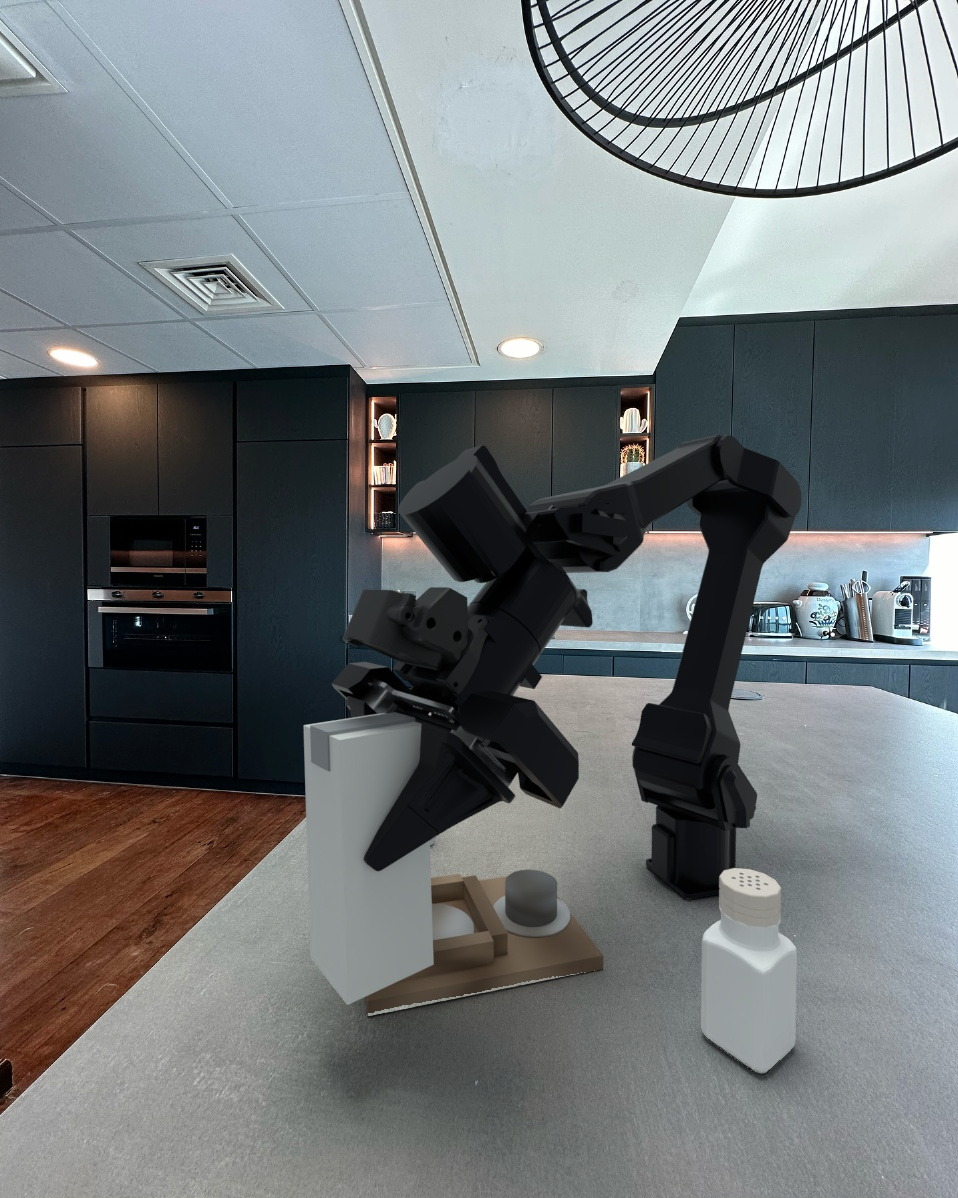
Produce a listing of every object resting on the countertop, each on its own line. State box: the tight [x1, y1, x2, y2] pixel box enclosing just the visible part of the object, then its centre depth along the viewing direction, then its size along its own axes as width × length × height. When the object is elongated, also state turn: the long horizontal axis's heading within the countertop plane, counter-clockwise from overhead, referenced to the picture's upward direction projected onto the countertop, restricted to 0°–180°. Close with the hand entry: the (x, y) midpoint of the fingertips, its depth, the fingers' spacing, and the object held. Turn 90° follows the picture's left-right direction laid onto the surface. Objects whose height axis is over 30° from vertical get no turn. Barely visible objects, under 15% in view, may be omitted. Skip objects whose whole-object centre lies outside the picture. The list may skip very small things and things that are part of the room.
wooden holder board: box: [364, 869, 604, 1014], centre depth 43 cm, size 16×12×4 cm
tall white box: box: [303, 712, 434, 1006], centre depth 32 cm, size 5×5×13 cm
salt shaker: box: [700, 867, 798, 1072], centre depth 33 cm, size 4×4×10 cm
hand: (346, 847), depth 31 cm, fingers closed on tall white box, 5 cm apart
